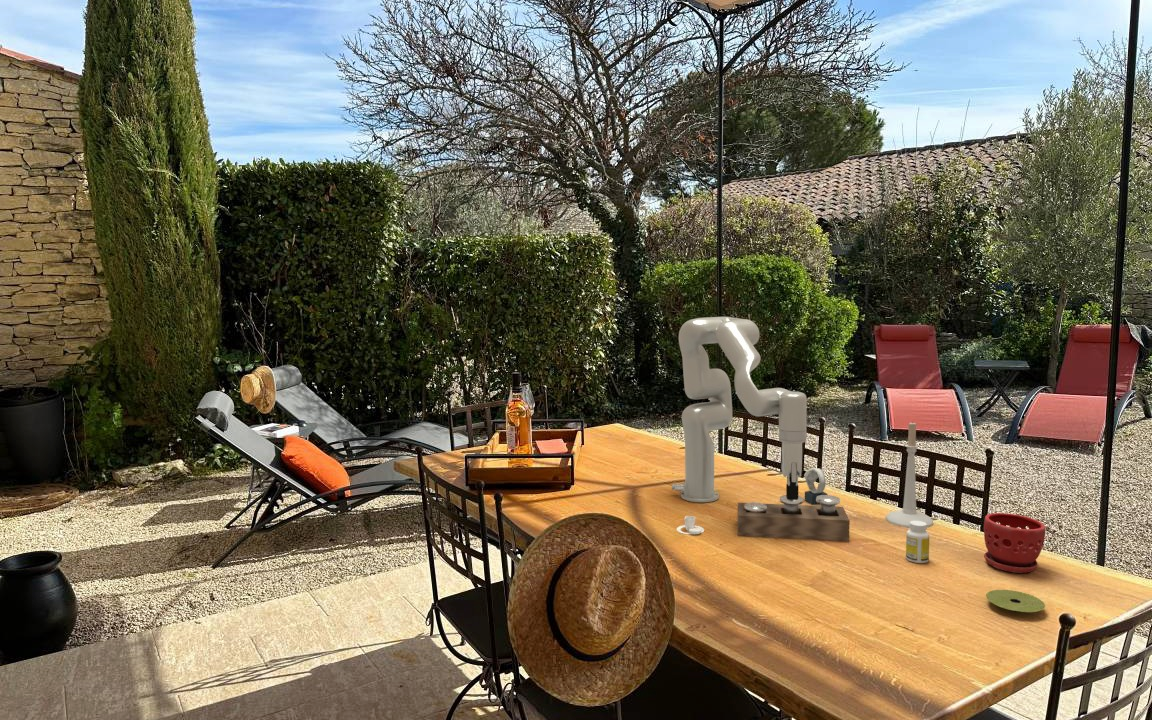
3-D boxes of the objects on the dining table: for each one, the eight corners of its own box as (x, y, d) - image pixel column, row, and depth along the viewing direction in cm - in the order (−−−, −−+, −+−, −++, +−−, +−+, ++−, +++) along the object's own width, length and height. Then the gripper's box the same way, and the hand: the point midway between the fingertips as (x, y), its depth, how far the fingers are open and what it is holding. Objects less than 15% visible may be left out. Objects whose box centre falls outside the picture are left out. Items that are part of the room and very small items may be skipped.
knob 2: (817, 519, 209) (817, 501, 209) (814, 512, 215) (814, 494, 215) (841, 520, 208) (841, 502, 207) (837, 513, 214) (838, 495, 213)
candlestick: (876, 517, 224) (879, 420, 221) (907, 511, 229) (911, 415, 226) (910, 530, 213) (914, 428, 209) (943, 524, 218) (946, 423, 214)
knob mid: (780, 519, 211) (780, 501, 211) (778, 512, 217) (779, 494, 217) (803, 520, 210) (804, 502, 209) (801, 513, 216) (801, 495, 216)
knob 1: (744, 527, 214) (744, 508, 213) (743, 519, 220) (743, 502, 219) (767, 528, 212) (767, 509, 212) (766, 520, 218) (766, 502, 218)
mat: (1021, 624, 156) (1021, 615, 156) (974, 603, 167) (974, 594, 166) (1056, 613, 161) (1057, 605, 161) (1008, 593, 171) (1008, 585, 171)
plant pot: (1022, 581, 178) (1024, 532, 176) (970, 562, 189) (972, 517, 188) (1054, 570, 184) (1057, 523, 182) (1003, 552, 195) (1005, 508, 194)
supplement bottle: (927, 557, 193) (928, 520, 192) (929, 564, 188) (931, 527, 187) (904, 554, 195) (905, 518, 194) (906, 562, 190) (907, 525, 189)
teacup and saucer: (703, 537, 212) (703, 523, 211) (675, 536, 213) (675, 522, 213) (704, 527, 220) (704, 513, 220) (677, 525, 222) (677, 512, 221)
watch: (816, 497, 245) (817, 464, 244) (830, 504, 237) (830, 471, 236) (801, 499, 244) (801, 466, 242) (814, 506, 236) (815, 472, 235)
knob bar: (738, 535, 211) (738, 515, 211) (737, 521, 223) (737, 502, 222) (849, 541, 205) (849, 520, 205) (842, 526, 217) (842, 506, 216)
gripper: (777, 429, 219) (777, 490, 221) (780, 440, 204) (780, 505, 206) (803, 430, 217) (803, 491, 219) (809, 441, 203) (808, 506, 205)
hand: (792, 498), depth 213 cm, fingers closed
